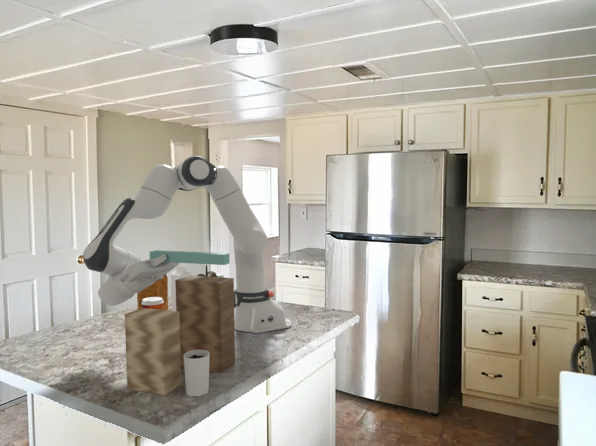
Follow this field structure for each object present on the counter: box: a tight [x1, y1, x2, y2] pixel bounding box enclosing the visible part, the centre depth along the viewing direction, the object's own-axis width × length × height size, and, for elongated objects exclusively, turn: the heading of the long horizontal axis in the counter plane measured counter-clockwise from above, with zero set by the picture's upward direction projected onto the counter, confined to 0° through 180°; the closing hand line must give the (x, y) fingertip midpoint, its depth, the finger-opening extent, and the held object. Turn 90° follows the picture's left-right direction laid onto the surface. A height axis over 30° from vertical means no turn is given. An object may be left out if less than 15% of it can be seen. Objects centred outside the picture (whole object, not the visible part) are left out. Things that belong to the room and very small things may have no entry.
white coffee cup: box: [183, 350, 210, 397], centre depth 118 cm, size 7×7×10 cm
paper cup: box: [141, 297, 164, 310], centre depth 162 cm, size 8×8×14 cm
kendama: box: [196, 264, 217, 277], centre depth 201 cm, size 6×10×20 cm, turn 160°
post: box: [175, 274, 236, 373], centre depth 136 cm, size 15×8×26 cm, turn 70°
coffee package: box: [136, 274, 169, 310], centre depth 196 cm, size 10×12×22 cm
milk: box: [170, 265, 193, 311], centre depth 185 cm, size 6×6×22 cm
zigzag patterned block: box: [124, 308, 182, 396], centre depth 121 cm, size 12×7×20 cm, turn 70°
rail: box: [149, 249, 231, 266], centre depth 136 cm, size 26×3×3 cm, turn 70°
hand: (171, 255), depth 138 cm, fingers closed on rail, 3 cm apart
